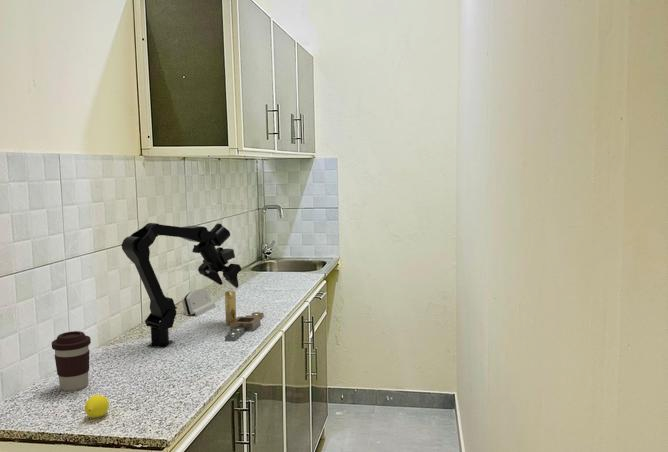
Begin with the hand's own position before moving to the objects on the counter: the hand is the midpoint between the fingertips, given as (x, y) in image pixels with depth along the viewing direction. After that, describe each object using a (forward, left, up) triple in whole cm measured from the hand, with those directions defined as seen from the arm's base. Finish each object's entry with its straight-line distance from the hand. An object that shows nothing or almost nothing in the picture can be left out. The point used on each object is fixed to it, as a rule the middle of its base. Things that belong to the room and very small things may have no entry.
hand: (229, 285), depth 226 cm
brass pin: (0, 0, -15) cm, 15 cm away
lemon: (-83, +3, -15) cm, 85 cm away
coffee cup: (-66, +21, -15) cm, 71 cm away
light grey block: (+18, +21, -15) cm, 31 cm away
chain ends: (-4, -7, -15) cm, 17 cm away
